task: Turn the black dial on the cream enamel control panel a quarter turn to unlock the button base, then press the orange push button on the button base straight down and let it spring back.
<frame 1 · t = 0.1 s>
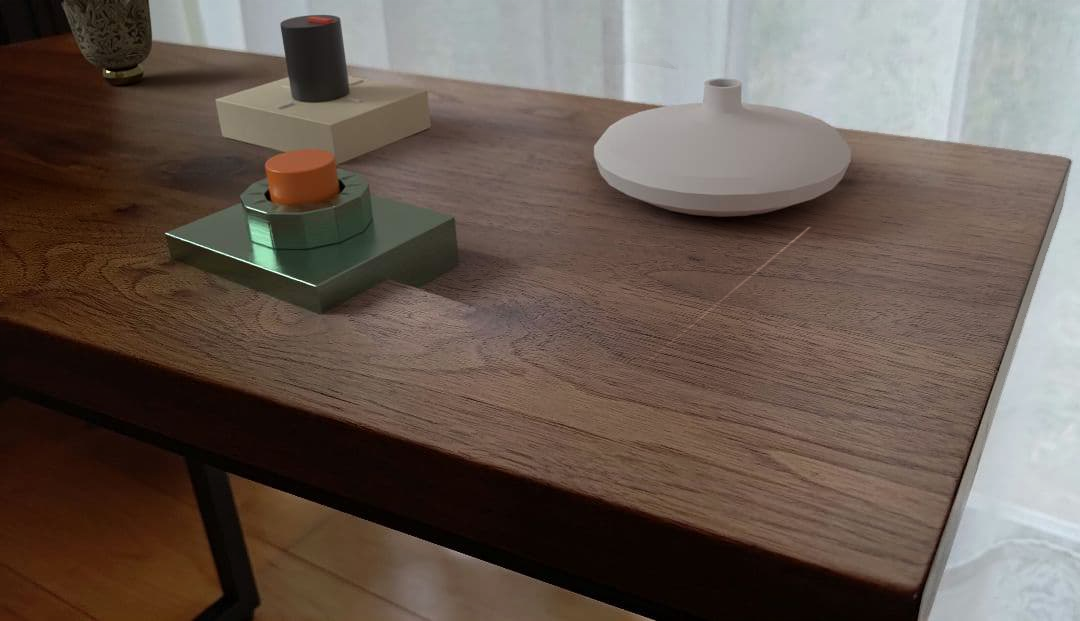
dial panel: (326, 132, 78), on the table
vase: (717, 195, 63), on the table
dial: (315, 56, 75), point 6 cm above the table, hinge at 0.0°
button base: (318, 274, 55), on the table
orange push button: (303, 178, 52), point 6 cm above the table, slide at 0.1 cm
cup: (125, 83, 94), on the table
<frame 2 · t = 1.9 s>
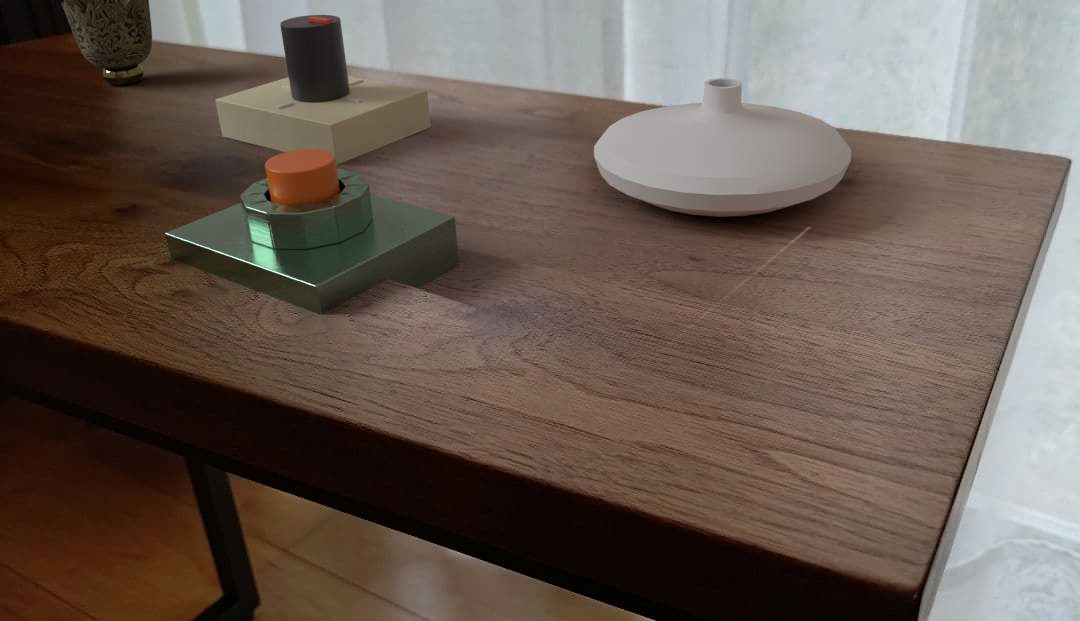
nothing on the table moved.
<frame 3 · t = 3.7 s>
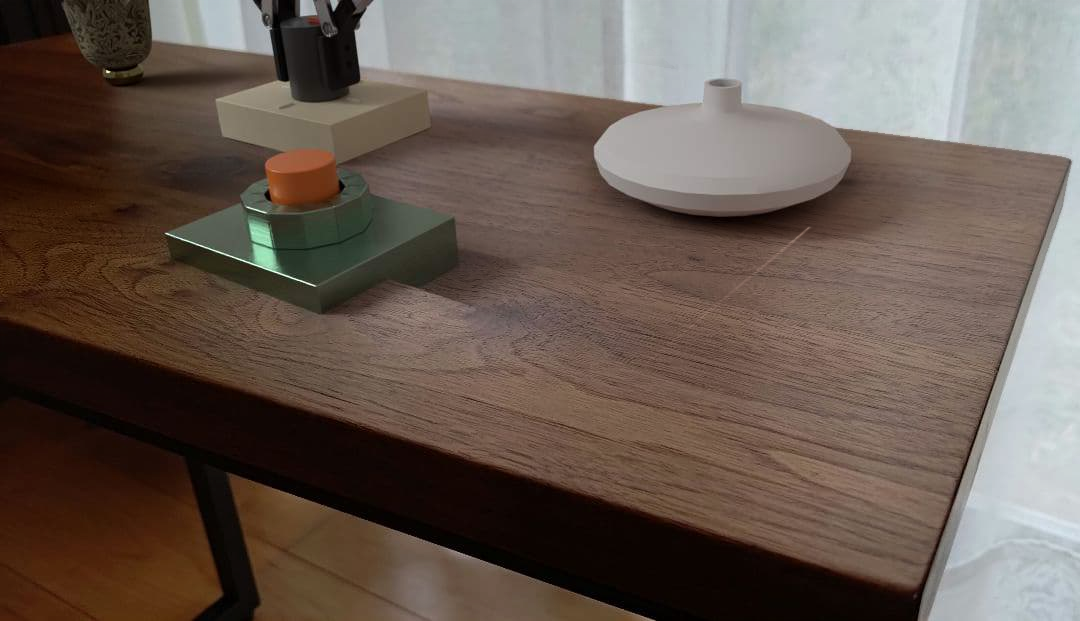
hand: (318, 79, 76), 4 cm above the table, tool pointing down, fingers closed on dial, 4 cm apart
dial: (315, 56, 75), point 6 cm above the table, hinge at -0.1°, touching gripper
everything else where it was.
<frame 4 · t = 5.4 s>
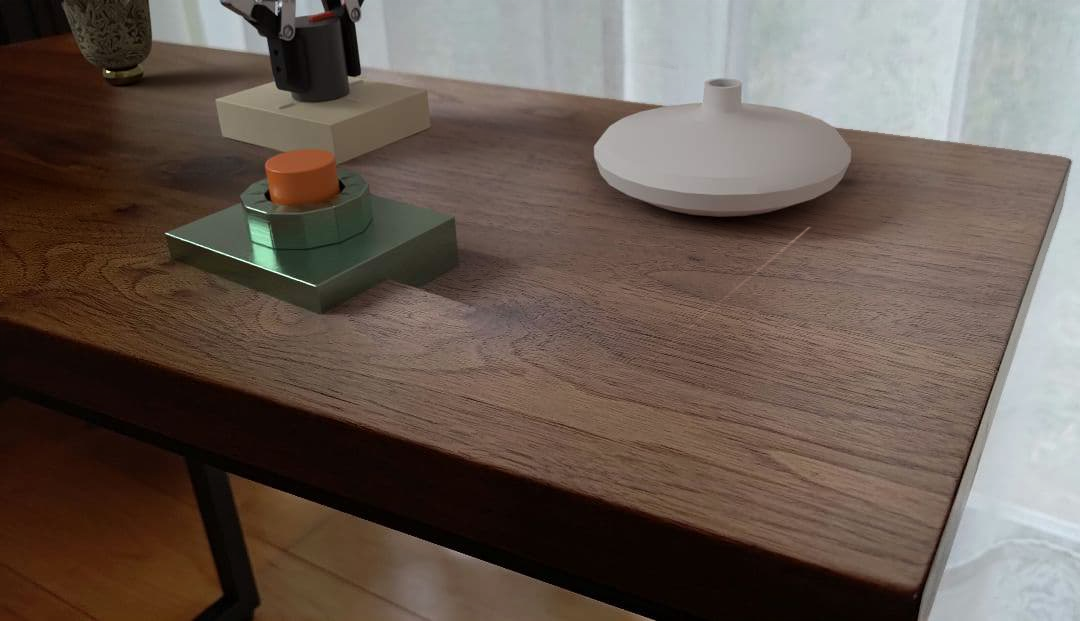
hand: (319, 79, 76), 4 cm above the table, tool pointing down, fingers closed on dial, 4 cm apart
dial: (315, 56, 75), point 6 cm above the table, hinge at 90.6°, touching gripper
everything else where it was.
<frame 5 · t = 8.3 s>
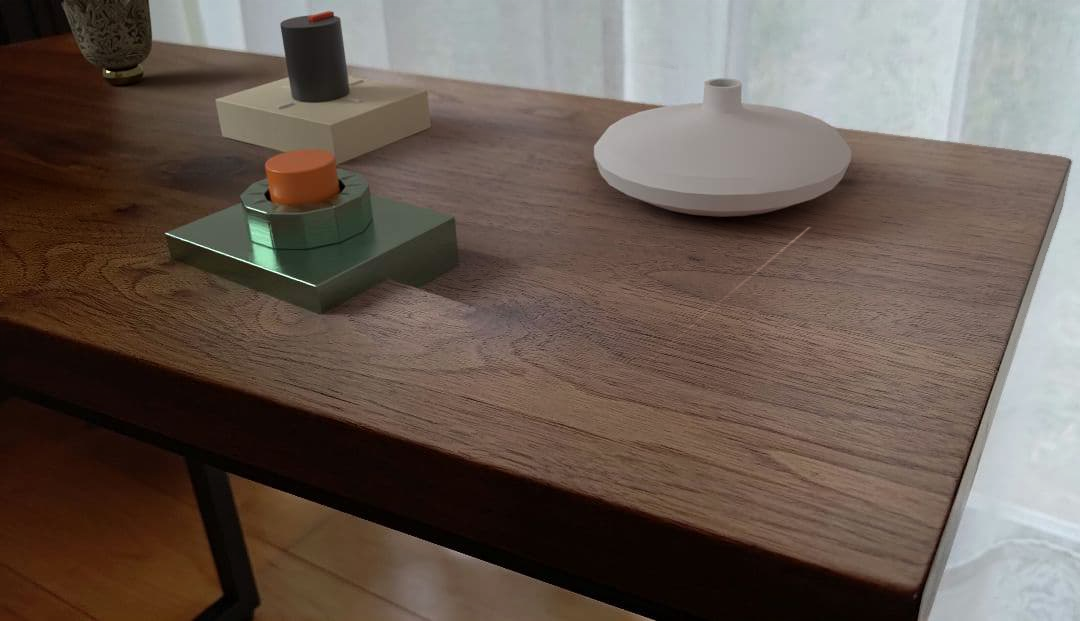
dial: (315, 56, 75), point 6 cm above the table, hinge at 90.9°
everything else where it was.
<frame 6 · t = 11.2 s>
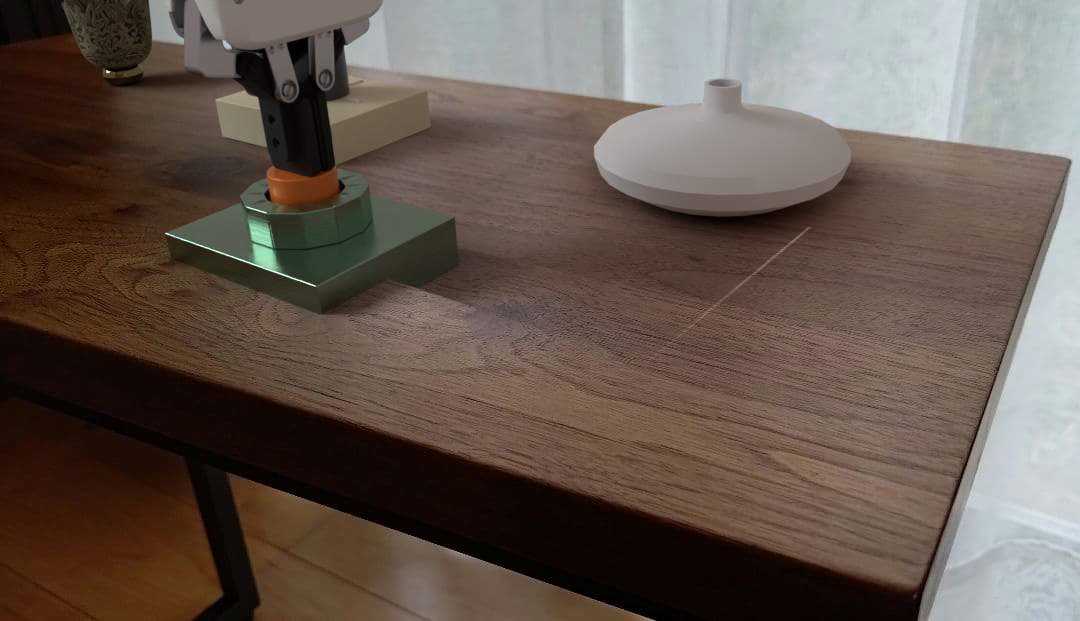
hand: (304, 167, 52), 6 cm above the table, tool pointing down, fingers closed
orange push button: (304, 186, 53), point 5 cm above the table, slide at -0.4 cm, touching gripper
everything else where it was.
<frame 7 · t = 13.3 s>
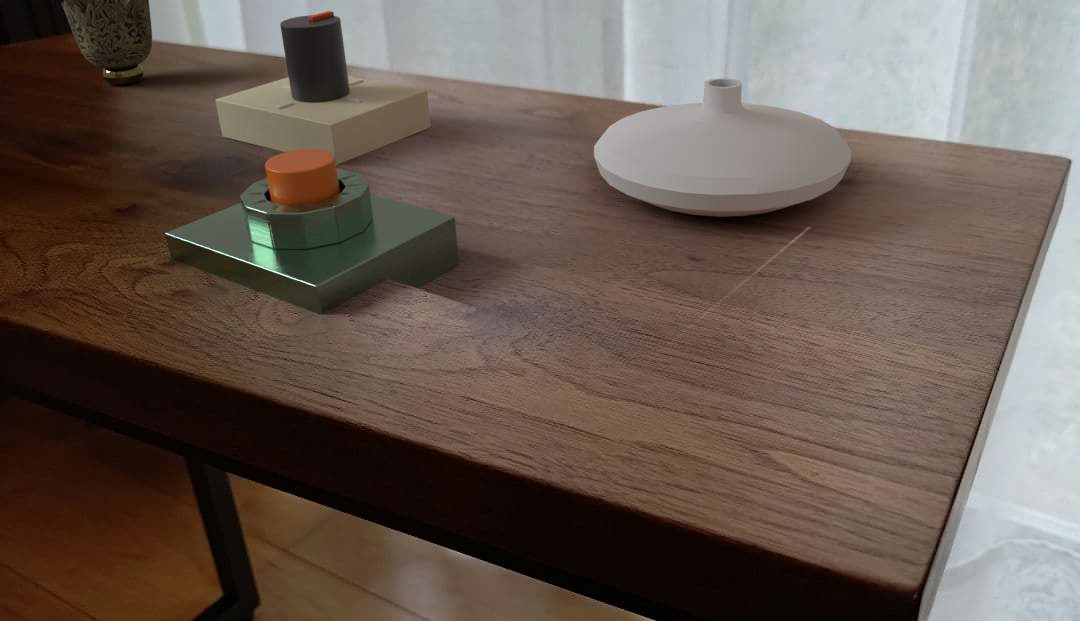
orange push button: (303, 178, 52), point 6 cm above the table, slide at 0.1 cm
everything else where it was.
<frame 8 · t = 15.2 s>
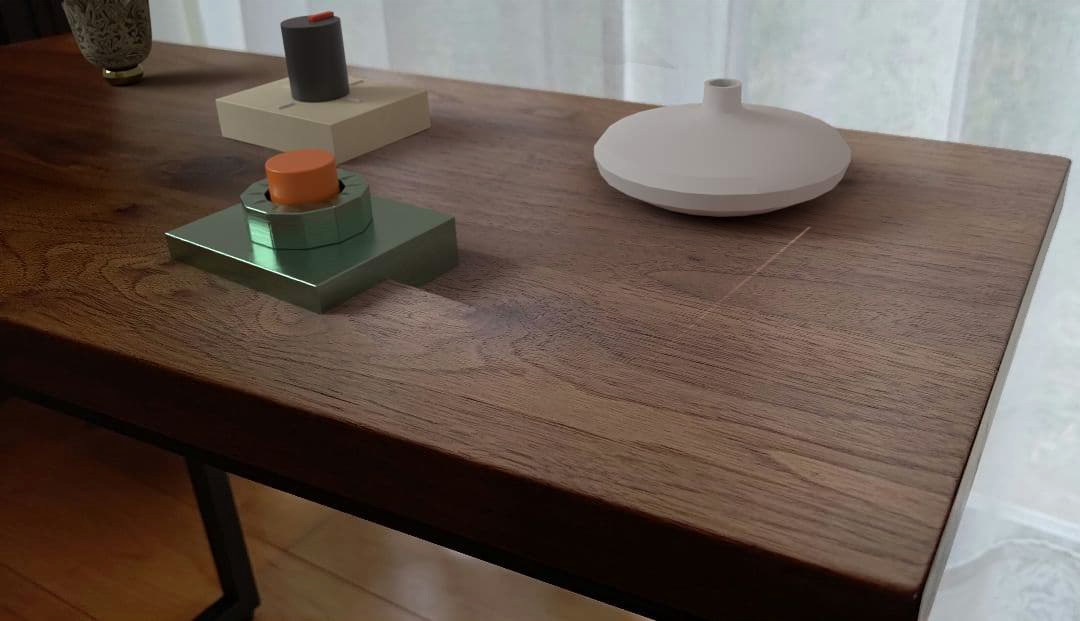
nothing on the table moved.
at the end: dial at +91° (first picture: +0°); orange push button pushed in 1.3 cm at the most during the clip, back to where it started at the end; orange push button slide at 0.1 cm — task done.
